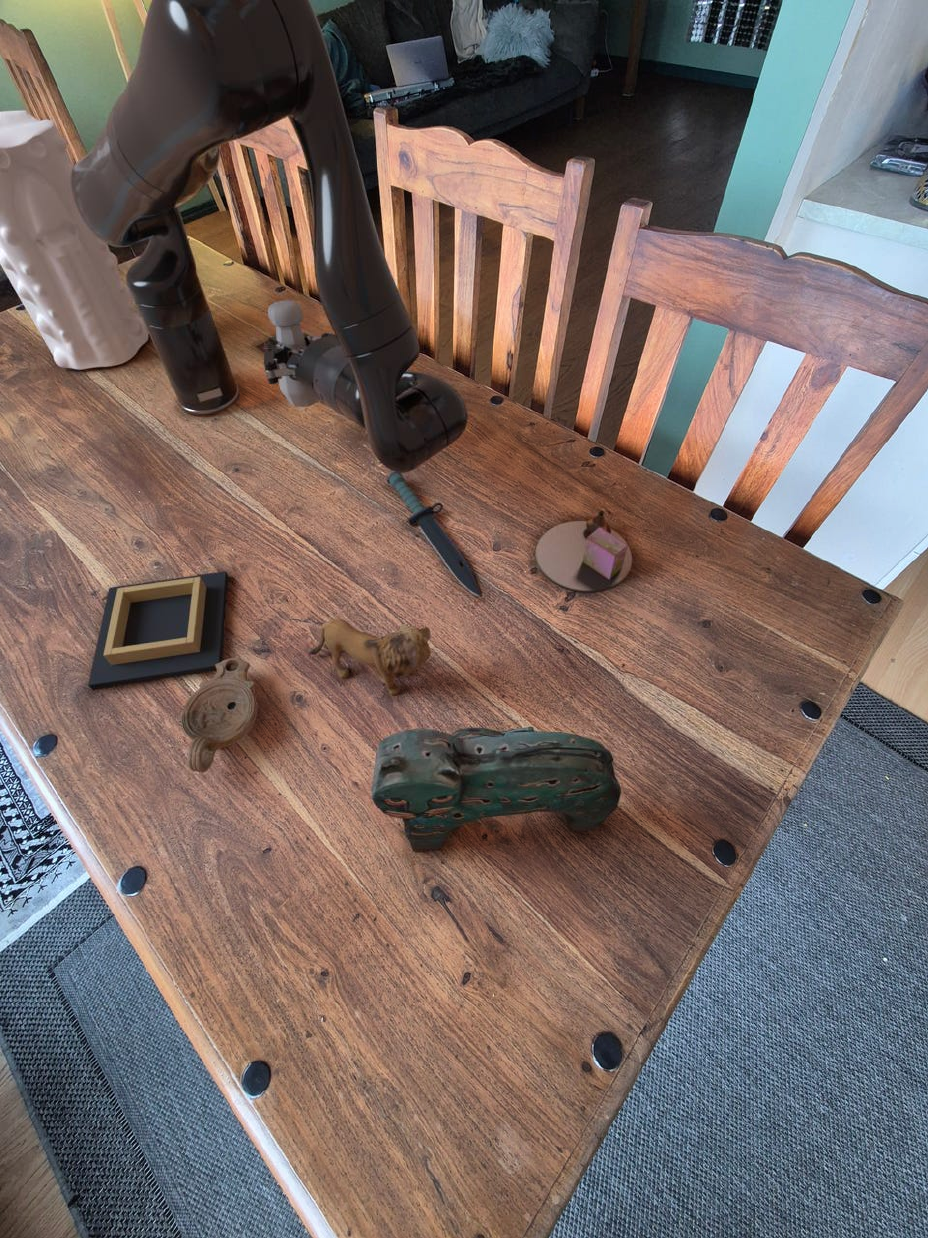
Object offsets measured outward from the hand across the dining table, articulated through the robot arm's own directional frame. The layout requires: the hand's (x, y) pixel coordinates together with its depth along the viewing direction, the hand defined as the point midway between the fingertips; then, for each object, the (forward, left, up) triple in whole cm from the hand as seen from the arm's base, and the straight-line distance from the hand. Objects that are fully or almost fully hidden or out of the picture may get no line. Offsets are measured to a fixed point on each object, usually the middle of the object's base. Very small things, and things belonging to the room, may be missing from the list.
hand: (284, 341), depth 87 cm
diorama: (-23, -5, -13) cm, 27 cm away
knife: (+28, +16, -13) cm, 35 cm away
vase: (-29, -35, -13) cm, 48 cm away
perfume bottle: (+35, +34, -13) cm, 50 cm away
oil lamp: (+51, -9, -13) cm, 53 cm away
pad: (+37, -17, -13) cm, 42 cm away
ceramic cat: (+66, +17, -13) cm, 69 cm away
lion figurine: (+47, +7, -13) cm, 49 cm away
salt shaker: (+4, +1, -7) cm, 8 cm away
